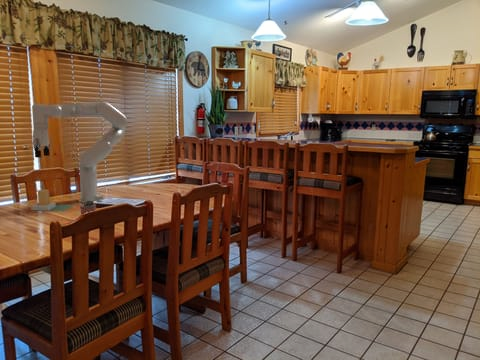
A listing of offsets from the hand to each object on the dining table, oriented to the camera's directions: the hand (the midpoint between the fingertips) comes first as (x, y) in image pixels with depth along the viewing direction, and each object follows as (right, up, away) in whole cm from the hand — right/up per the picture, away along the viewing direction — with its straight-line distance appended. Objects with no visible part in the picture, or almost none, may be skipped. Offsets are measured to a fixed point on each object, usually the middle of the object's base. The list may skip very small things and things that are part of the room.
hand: (42, 156), depth 215 cm
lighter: (+36, -34, -24) cm, 55 cm away
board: (+9, -30, -6) cm, 32 cm away
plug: (+5, -29, -8) cm, 31 cm away
